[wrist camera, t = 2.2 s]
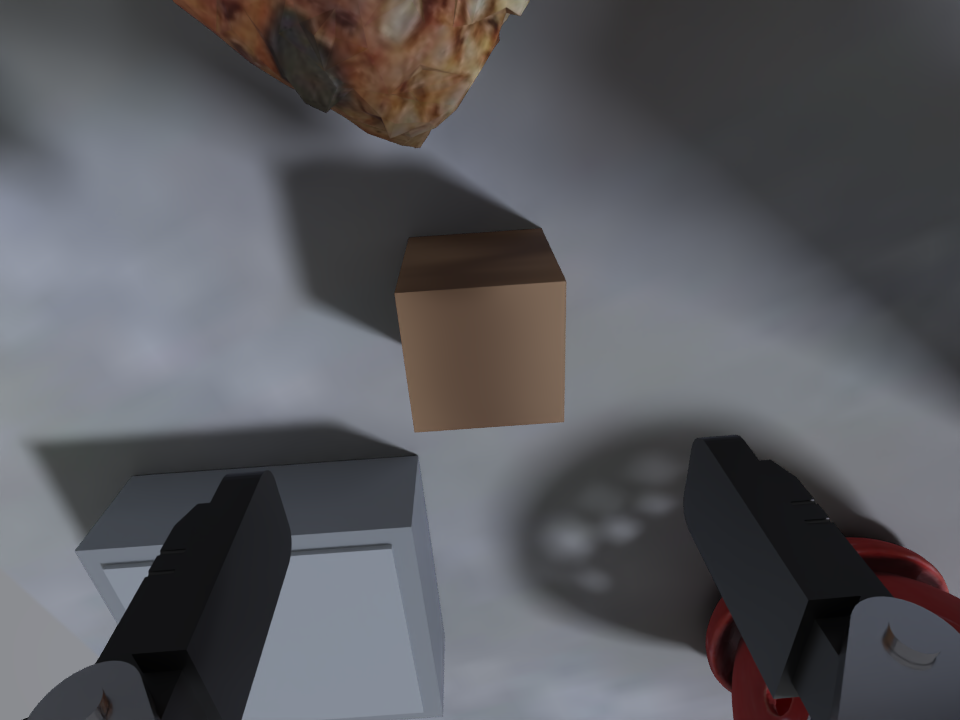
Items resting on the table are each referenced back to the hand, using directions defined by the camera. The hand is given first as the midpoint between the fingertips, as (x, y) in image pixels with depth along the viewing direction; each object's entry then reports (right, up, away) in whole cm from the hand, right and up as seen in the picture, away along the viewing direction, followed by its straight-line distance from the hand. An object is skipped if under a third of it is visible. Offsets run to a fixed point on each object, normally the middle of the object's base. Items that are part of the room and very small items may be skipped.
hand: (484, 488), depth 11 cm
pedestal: (-8, -7, +15) cm, 19 cm away
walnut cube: (0, +5, +9) cm, 10 cm away
